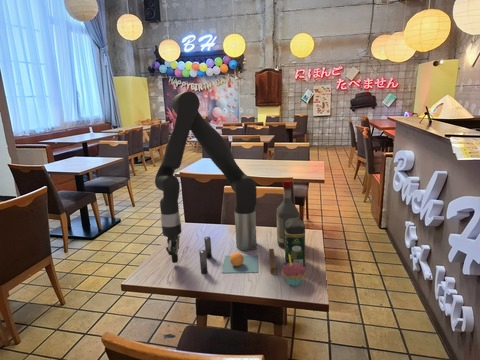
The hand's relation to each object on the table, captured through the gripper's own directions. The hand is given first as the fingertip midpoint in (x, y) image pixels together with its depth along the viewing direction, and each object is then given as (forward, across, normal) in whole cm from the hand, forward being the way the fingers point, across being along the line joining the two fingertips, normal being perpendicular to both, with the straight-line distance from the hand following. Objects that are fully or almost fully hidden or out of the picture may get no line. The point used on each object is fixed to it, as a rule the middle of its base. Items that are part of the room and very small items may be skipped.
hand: (175, 261), depth 131 cm
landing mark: (+2, 0, -27) cm, 27 cm away
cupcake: (+2, -14, -47) cm, 49 cm away
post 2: (+2, +6, -13) cm, 15 cm away
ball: (-1, -1, -26) cm, 26 cm away
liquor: (+2, +17, -48) cm, 51 cm away
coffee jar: (+2, -1, -49) cm, 49 cm away
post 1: (+2, -6, -13) cm, 15 cm away
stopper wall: (+2, 0, -40) cm, 40 cm away
